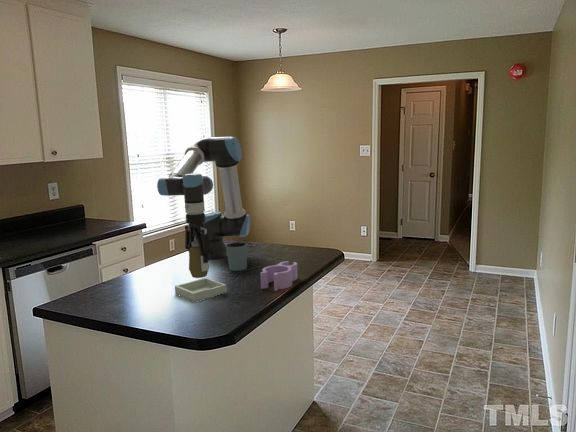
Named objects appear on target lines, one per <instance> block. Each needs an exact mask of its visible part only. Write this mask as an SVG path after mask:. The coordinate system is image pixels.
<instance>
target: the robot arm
mask: <svg viewBox="0 0 576 432" xmlns="http://www.w3.org/2000/svg"><path fill="white" fill-rule="evenodd" d="M242 157H243V154H242V147H241V143H240V140H239V139H238V138H237V137H235V136H228V135H227V136H214V137H213V136H212V137H209V136H207V137H203V138H200V139H198V140H196V141H194V142H193V143H191V145H189V146H188V147H187V149H185V152H184V156H183V157H182V158H181V160H180V161H179V162H178V164H177V165H176V166H175V168H174V169H173V170H172V172H171V173H170V174H169V175H168V177H160V178H159V179H158V180H157V184H156V188H157V192H158V193H159V195H160V196H168V197H171V196H174V197H175V196H184V197H183V199H184V209H185V213H186V214H185V223H186V225H185V226H184V230H185V231H184V232H185V233H184V235H185V236H184V238H185V241H184V247H185V248H184V249H186V250H187V252H189V249H190V248H191V247H192V245H191V242H192V241H194V237H196V239H197V240H198V243H199V246H200V250H201V253H202V254H201V269H202V271H207V270H208V271H209V269H208V264H209V260H217V259H222V258H225V257H227V250H226V244H225V241H224V238H226V237H227V238H228V237H229V238H236V237H237V238H241V237H243V238H244V237H247V236H248V235H249V232H250V229H251V215H250V214H247V211H246V209H244V207H243V203H242V202H243V201H242V196H241V188H240V182H239V175H238V168H237V167H238V165H239V164H240V161H241V160H242ZM206 162H207V163H209V162H211V163H212V162H213V163H215V167H216V168H218V169H219V175H220V181H221V182H220V183H221V188H222V194H223V199H224V200H223V201H224V205H225V211H224V212H223V213H222V212H221V211H216V212H215V211H214V212H208V213H205V212H206V210H205V198H204V197H205V195H207V194H208V195H209V193H211V192H212V190H213V188H214V182H213V180H212V178H211V177H209V176H207V175H206V176H205V175H203V174H201V173H194V172H195V170H196V169H197V168H198V166H201V165H202V164H203V163H206Z"/></svg>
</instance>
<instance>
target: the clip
mask: <svg viewBox="0 0 576 432" xmlns="http://www.w3.org/2000/svg"><path fill="white" fill-rule="evenodd" d="M259 273H260V277H259V278H260V288H261V289H262V290H263V289H268V288H269V283H272V282H273V290H274V291H275V292H276V291H278V290H283V289H288V288H290V287H292V286H293V282H294V281H296V280H299V279H298V262H295V261H293V262H292V264H290V262H289V261H288V260H286V261H281V262H279V263H277V264H275V265H268V266H265V267H263V268H262V269H261V271H260V272H259Z"/></svg>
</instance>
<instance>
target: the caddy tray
mask: <svg viewBox="0 0 576 432" xmlns="http://www.w3.org/2000/svg"><path fill="white" fill-rule="evenodd" d="M226 292H227V293H228V290H227V284H225V283H222V282H221V281H220V282H219V281H217V280H214V279H211V278H208V277H202V278H198V279H196V280H191V281H188V282H185V283H181V284H178V285H174V294H175V295H176V294H177V296H178V295H180V296H182V297H181V298H183V297H184V298H183V299H185V298H187V299H189V300H191V301H190V302H192V301H193V302H192V303H194V302H196V303H198V302H197V301H199V302H201V301H200V300H203V299H206V300H208V299H207V298H209V299H211V298H210V297H212V298H214V297H213V296H216V295H219V296H221V295H220V294H222V295H224V294H223V293H225V294H227V293H226ZM180 296H179V297H180ZM216 297H217V296H216ZM187 299H186V300H187ZM189 300H188V301H189ZM203 301H204V300H203Z"/></svg>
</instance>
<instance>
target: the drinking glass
mask: <svg viewBox="0 0 576 432" xmlns="http://www.w3.org/2000/svg"><path fill="white" fill-rule="evenodd" d="M225 246H226V250H227V256H226V257H227V261H228V268H229V269H228V270H230V271H233V272H238V271H239V272H240V271H245V270H247V268H248V243H247V242H244V241H234V242H229V243H227V244H225Z"/></svg>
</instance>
